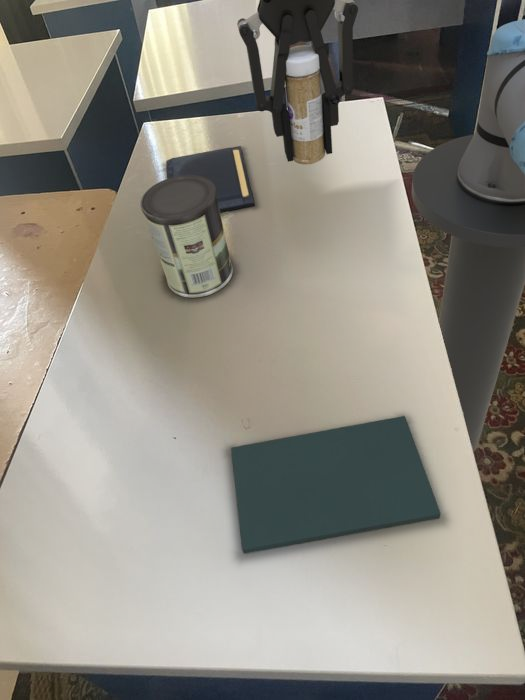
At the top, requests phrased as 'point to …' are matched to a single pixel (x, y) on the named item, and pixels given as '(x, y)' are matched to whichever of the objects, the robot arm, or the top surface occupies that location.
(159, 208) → the coffee can
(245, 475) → the dark green mat
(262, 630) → the top surface
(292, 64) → the sprinkles bottle
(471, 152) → the robot arm
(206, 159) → the dark blue book
